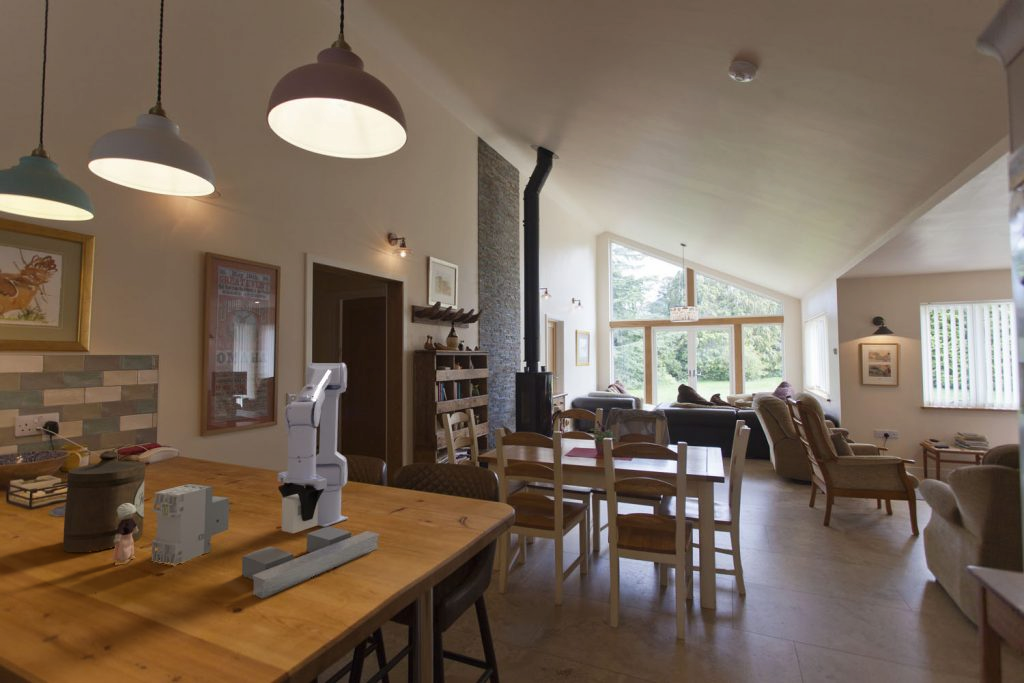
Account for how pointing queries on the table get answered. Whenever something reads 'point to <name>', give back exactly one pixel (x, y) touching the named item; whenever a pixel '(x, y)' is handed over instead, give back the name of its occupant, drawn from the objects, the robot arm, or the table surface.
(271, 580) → the din rail
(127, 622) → the table surface
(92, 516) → the wooden container
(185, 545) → the circuit breaker
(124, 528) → the grandmother figurine
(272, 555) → the mounted modules
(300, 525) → the block
